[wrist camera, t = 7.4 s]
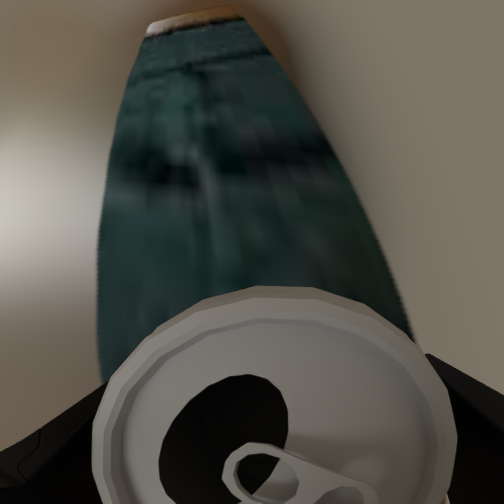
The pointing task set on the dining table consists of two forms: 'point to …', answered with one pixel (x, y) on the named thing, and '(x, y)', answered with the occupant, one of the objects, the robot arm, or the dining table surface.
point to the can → (275, 408)
